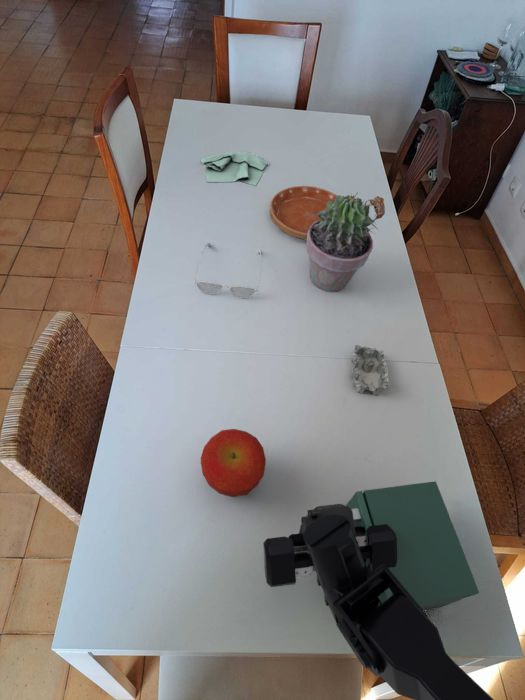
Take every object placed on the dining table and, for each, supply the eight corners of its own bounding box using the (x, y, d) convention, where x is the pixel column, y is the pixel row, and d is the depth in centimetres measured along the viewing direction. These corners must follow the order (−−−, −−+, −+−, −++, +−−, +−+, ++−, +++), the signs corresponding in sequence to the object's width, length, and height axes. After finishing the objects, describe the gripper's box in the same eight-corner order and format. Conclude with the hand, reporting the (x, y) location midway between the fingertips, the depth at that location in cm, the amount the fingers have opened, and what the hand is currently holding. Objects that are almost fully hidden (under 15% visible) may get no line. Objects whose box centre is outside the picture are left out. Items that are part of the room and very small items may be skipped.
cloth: (275, 162, 147) (276, 155, 145) (246, 196, 134) (247, 189, 133) (219, 143, 151) (219, 136, 149) (186, 175, 138) (185, 167, 136)
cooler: (371, 619, 71) (398, 607, 61) (344, 516, 80) (364, 490, 70) (441, 607, 73) (479, 592, 63) (407, 507, 82) (435, 481, 72)
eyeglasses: (193, 292, 109) (193, 280, 106) (205, 244, 120) (205, 231, 117) (257, 300, 110) (258, 289, 106) (263, 251, 120) (264, 239, 117)
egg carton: (383, 398, 96) (389, 388, 93) (348, 391, 96) (353, 381, 93) (383, 358, 103) (389, 347, 99) (350, 352, 103) (355, 341, 100)
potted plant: (279, 258, 119) (293, 172, 100) (347, 251, 124) (374, 167, 104) (299, 308, 109) (319, 223, 89) (372, 299, 114) (408, 216, 94)
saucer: (254, 224, 127) (255, 213, 124) (291, 186, 140) (293, 175, 137) (327, 257, 122) (330, 246, 119) (359, 214, 135) (362, 204, 132)
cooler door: (318, 629, 69) (337, 618, 59) (296, 522, 79) (310, 497, 69) (369, 619, 71) (396, 607, 61) (342, 516, 80) (362, 490, 70)
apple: (255, 516, 79) (261, 491, 69) (194, 503, 79) (192, 477, 70) (265, 457, 86) (273, 427, 76) (209, 446, 86) (210, 415, 76)
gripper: (416, 518, 57) (371, 471, 72) (269, 536, 55) (255, 483, 70) (417, 600, 58) (372, 537, 74) (274, 620, 56) (259, 551, 72)
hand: (316, 525), depth 72 cm, fingers open, 4 cm apart
